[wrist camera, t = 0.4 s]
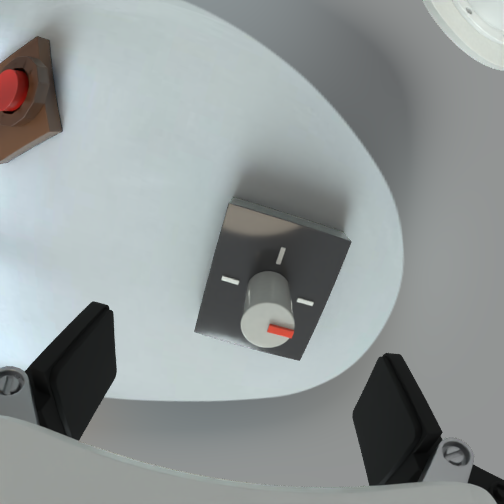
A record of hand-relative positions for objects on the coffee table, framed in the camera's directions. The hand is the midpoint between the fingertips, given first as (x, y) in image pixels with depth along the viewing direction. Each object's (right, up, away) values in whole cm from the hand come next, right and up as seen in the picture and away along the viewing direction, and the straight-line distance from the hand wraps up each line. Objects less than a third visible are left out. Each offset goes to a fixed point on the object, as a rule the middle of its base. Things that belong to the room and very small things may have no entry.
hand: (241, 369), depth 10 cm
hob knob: (+2, +1, +16) cm, 16 cm away
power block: (-24, +20, +14) cm, 34 cm away
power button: (-22, +19, +11) cm, 31 cm away
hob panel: (+2, +2, +19) cm, 19 cm away
